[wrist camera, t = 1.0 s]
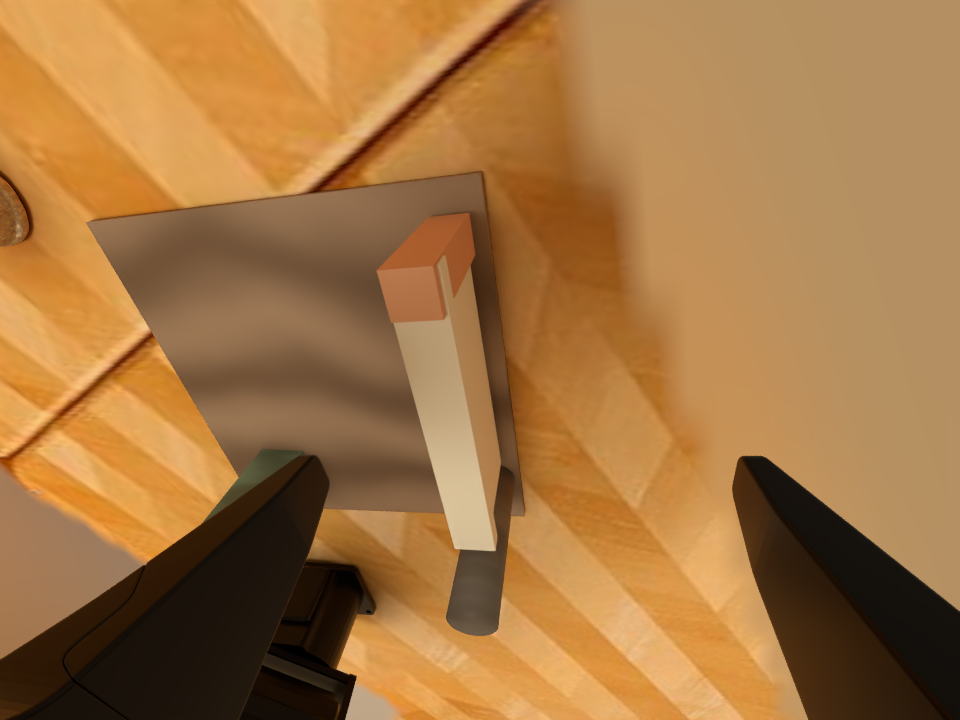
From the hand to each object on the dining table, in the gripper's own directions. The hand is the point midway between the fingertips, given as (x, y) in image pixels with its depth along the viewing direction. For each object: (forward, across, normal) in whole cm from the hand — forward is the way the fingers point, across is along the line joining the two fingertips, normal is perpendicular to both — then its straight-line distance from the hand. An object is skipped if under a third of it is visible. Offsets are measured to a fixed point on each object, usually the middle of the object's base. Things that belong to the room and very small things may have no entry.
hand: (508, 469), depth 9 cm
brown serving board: (+12, +12, +6) cm, 18 cm away
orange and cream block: (+12, +4, +4) cm, 13 cm away
